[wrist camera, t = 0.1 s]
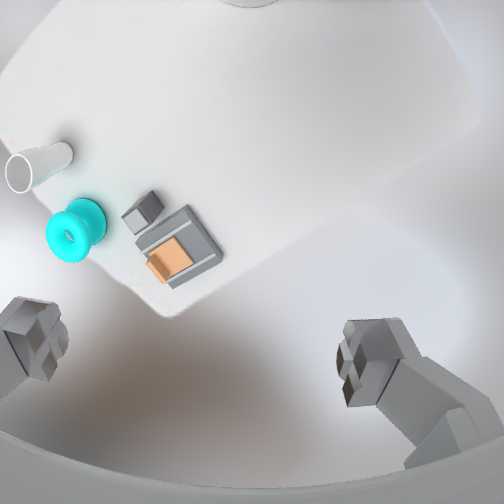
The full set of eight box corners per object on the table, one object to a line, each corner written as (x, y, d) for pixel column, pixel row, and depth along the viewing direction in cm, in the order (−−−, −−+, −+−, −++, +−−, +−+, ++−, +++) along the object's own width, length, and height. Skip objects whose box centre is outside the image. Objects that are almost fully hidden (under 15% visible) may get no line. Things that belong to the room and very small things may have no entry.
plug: (136, 201, 56) (119, 218, 48) (151, 190, 55) (136, 205, 47) (148, 218, 57) (134, 236, 50) (164, 207, 56) (151, 224, 49)
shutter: (149, 251, 57) (143, 261, 54) (174, 235, 56) (169, 244, 52) (168, 275, 60) (164, 286, 56) (193, 261, 58) (190, 271, 55)
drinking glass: (47, 144, 49) (0, 162, 36) (72, 133, 49) (25, 147, 36) (56, 175, 52) (12, 199, 39) (81, 165, 52) (37, 187, 39)
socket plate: (139, 236, 59) (134, 244, 56) (187, 204, 56) (183, 211, 53) (175, 281, 64) (172, 290, 61) (223, 254, 61) (221, 263, 58)
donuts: (39, 214, 46) (82, 215, 46) (65, 196, 55) (106, 197, 55) (48, 263, 50) (90, 267, 51) (71, 240, 59) (110, 243, 60)
